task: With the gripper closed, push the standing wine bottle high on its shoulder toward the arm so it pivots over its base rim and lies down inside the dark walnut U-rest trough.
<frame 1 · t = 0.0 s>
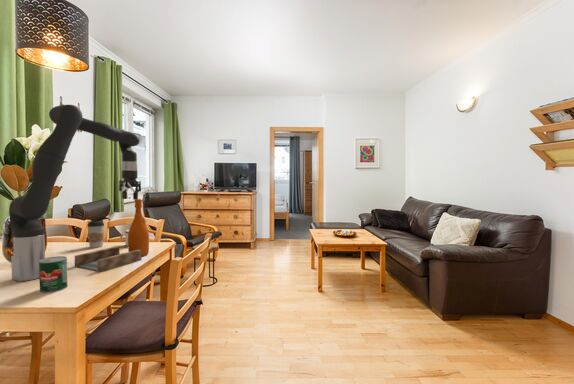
hand: (130, 199, 152), 29 cm above the table, fingers open, 8 cm apart
wine bottle: (138, 255, 147), on the table
teacup with lid: (131, 245, 169), on the table
u rest: (109, 263, 132), on the table
coffee cup: (96, 247, 163), on the table
canned tomato: (54, 289, 101), on the table
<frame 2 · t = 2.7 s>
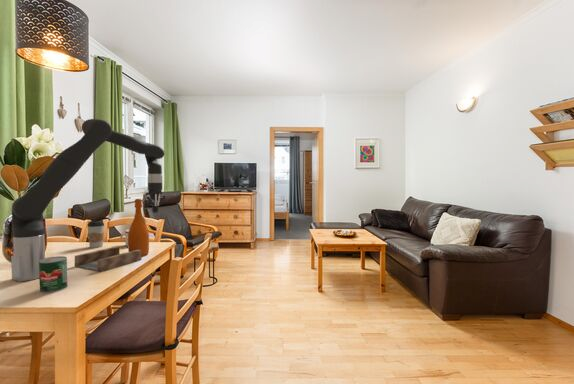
hand: (155, 212, 156), 22 cm above the table, fingers closed
nothing on the table moved.
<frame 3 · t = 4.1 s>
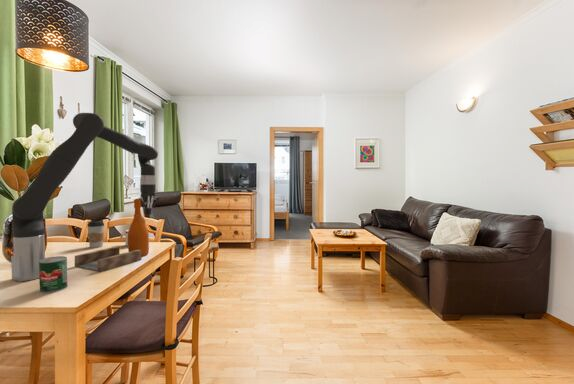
hand: (148, 215, 152), 21 cm above the table, fingers closed
wine bottle: (138, 255, 147), on the table, touching hand
everything else where it was.
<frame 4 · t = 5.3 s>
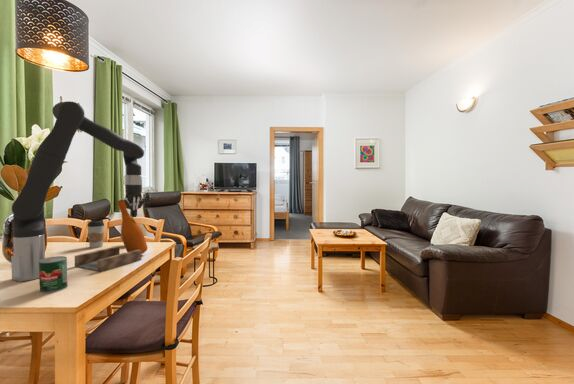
hand: (133, 217, 144), 21 cm above the table, fingers closed
wine bottle: (138, 252, 147), point 1 cm above the table, touching gripper
everything else where it was.
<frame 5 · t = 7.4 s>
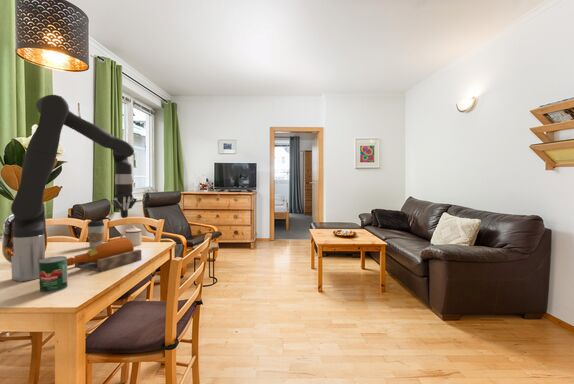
hand: (124, 217, 139), 21 cm above the table, fingers closed
wine bottle: (128, 247, 140), point 6 cm above the table, touching u rest
everything else where it was.
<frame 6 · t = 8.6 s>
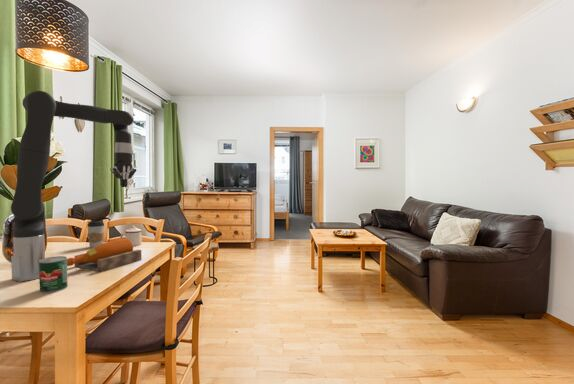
hand: (124, 187, 138), 36 cm above the table, fingers closed
nothing on the table moved.
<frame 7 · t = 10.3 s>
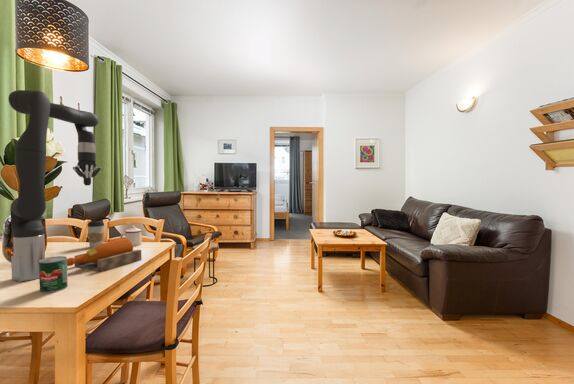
hand: (87, 185, 143), 37 cm above the table, fingers closed
nothing on the table moved.
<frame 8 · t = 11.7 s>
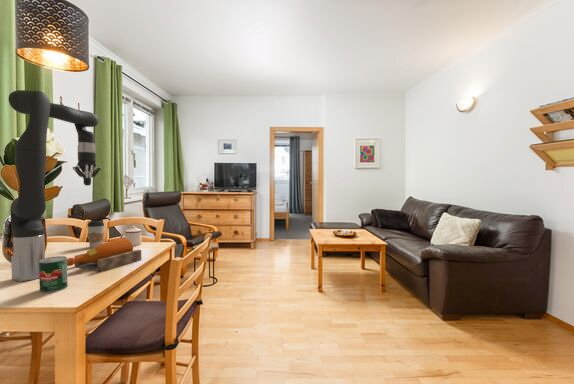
hand: (87, 185, 143), 37 cm above the table, fingers closed
nothing on the table moved.
at the end: wine bottle tilted 91°; wine bottle inside the target area on the table beside the u rest (2.5 cm from its centre), point 5.6 cm above the table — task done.
